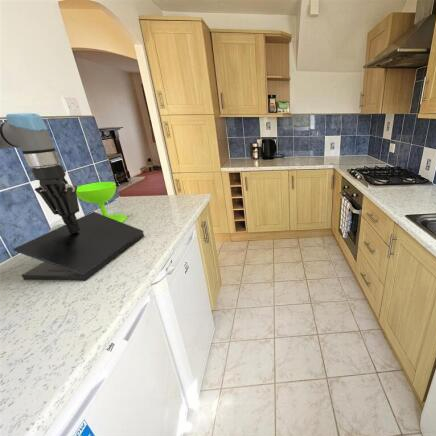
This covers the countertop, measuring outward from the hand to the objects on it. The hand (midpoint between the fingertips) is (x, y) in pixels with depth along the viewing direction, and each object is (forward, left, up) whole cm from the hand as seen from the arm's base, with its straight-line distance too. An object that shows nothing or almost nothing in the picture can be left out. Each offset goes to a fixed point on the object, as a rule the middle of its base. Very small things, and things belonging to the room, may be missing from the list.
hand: (75, 231), depth 87 cm
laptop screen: (+4, 0, -3) cm, 5 cm away
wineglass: (-15, +30, -10) cm, 35 cm away
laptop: (+3, 0, -10) cm, 10 cm away
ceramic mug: (-15, +8, -10) cm, 20 cm away
